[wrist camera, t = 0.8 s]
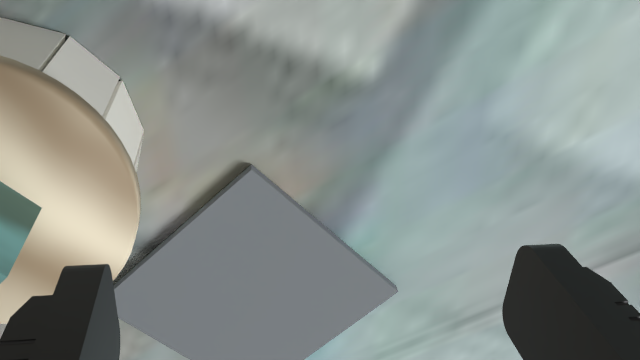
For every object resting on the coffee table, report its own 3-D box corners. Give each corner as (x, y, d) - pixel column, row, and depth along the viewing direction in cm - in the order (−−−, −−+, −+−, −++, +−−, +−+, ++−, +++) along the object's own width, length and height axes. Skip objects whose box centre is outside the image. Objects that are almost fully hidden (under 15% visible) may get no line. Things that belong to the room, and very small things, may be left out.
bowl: (-16, -34, 26) (-75, 1, 21) (186, 131, 32) (177, 190, 27) (-151, 133, 30) (-231, 198, 25) (53, 257, 35) (23, 330, 30)
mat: (251, 164, 33) (251, 169, 33) (395, 285, 40) (398, 291, 39) (98, 298, 37) (96, 305, 37) (252, 389, 44) (253, 396, 43)
